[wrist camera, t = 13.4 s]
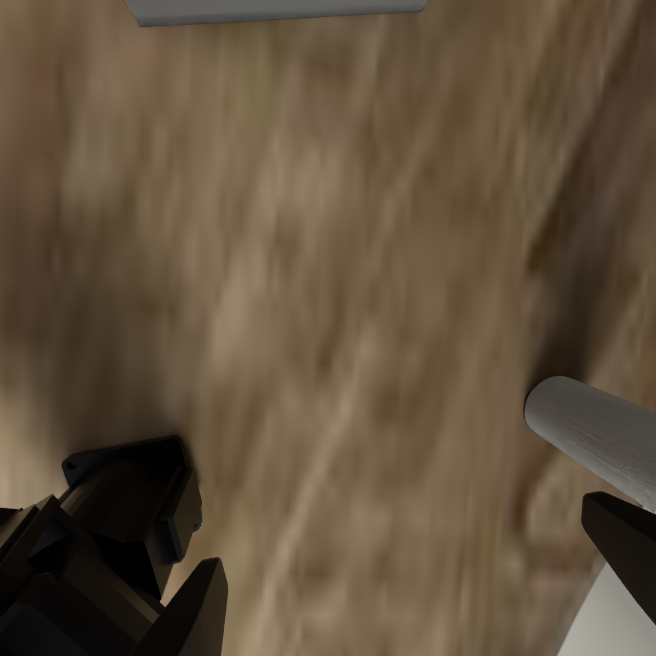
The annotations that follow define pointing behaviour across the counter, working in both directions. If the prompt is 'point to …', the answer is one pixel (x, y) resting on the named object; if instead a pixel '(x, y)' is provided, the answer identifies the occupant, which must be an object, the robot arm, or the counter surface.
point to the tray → (257, 10)
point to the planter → (598, 433)
